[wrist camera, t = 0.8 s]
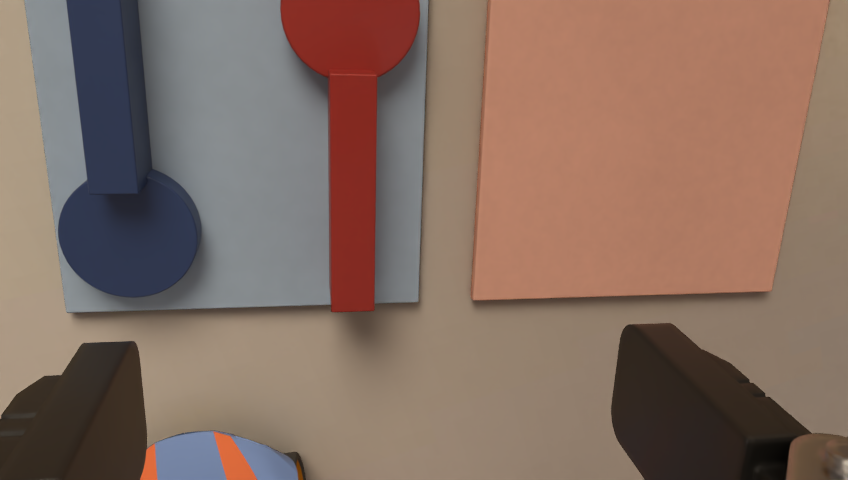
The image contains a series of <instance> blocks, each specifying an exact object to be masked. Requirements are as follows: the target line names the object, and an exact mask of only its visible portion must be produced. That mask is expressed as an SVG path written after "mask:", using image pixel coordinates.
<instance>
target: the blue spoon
mask: <svg viewBox="0 0 848 480" xmlns="http://www.w3.org/2000/svg"><path fill="white" fill-rule="evenodd" d="M66 3H67V12H68V20H69V29H70V37H71V46H72V55H73V63H74V72H75V80H76V89H77V97H78V106H79V114H80V123H81V131H82V140H83V148H84V157H85V165H86V174H87V180H86V181H85V182H84V183H82V184H81V185H80V186H79V187H78V188H77V189H76V190H75V191H73V193H72V194H71V195H70V196H69V197H68V199H67V201H66V202H65V204H64V206H63V208H62V211H61V213H60V217H59V223H58V238H59V243H60V247H61V250H62V252H63V255H64V257H65V259H66V261H67V262H68V264H69V265H70V267H71V268H72V269H73V270H74V272H75V273H76V274H77V275H78V276H79V277H80V278H82V279H83V280H84V281H85V282H87V283H88V284H89V285H91V286H92V287H94V288H96V289H98V290H100V291H103V292H105V293H108V294H111V295H115V296H120V297H132V298H136V297H146V296H150V295H154V294H157V293H160V292H162V291H164V290H167V289H169V288H170V287H172V286H173V285H175V284H176V283H177V282H178V281H179V280H181V279H182V277H183V276H184V275H185V274H186V273H187V271H188V270H189V268H190V267H191V265H192V263H193V261H194V259H195V256H196V254H197V251H198V249H199V245H200V241H201V220H200V216H199V213H198V210H197V208H196V205H195V203H194V202H193V200H192V198H191V197H190V195H189V194H188V193H187V192H186V190H185V189H184V188H183V187H182V186H181V185H180V184H179V183H177V182H176V181H175V180H173V179H172V178H170V177H169V176H167V175H165V174H164V173H161V172H159V171H157V170H154V169H152V158H151V147H150V136H149V124H148V113H147V101H146V90H145V78H144V67H143V56H142V44H141V33H140V21H139V10H138V0H66Z"/></svg>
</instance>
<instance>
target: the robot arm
mask: <svg viewBox="0 0 848 480" xmlns="http://www.w3.org/2000/svg"><path fill="white" fill-rule="evenodd" d="M611 415H612V424H613V428H614V432H615V435H616V438H617V440H618V442H619V443H620V445H621V446H622V448H623V449H624V450H625V452H626V453H627V455H628V456H629V458H630V459H631V460H632V462H633V463H634V465H635V466H636V467H637V469H638V470H639V472H640V473H641V475H642V476H643V477H644V479H645V480H848V437H843V436H839V435H833V434H823V433H813V434H812V433H811V432H810V431H808V430H807V429H806V428H805V427H804V426H803V425H801V424H800V423H799V422H798V421H797V420H796V419H794V418H793V417H792V416H791V415H790V414H789V413H787V412H786V411H785V410H784V409H783V408H782V407H780V406H779V405H778V404H777V403H776V402H775V401H774V400H772V399H771V398H770V397H765V393H764V392H763V391H762V390H761V389H760V388H758V387H757V386H756V385H755V384H754V383H750V382H749V379H748V378H747V377H746V376H744V375H743V374H742V373H741V372H740V371H739V370H738V369H736V368H735V367H734V366H733V365H732V364H731V363H729V362H727V361H725V360H723V359H721V358H719V357H717V356H715V355H713V354H711V353H709V352H707V351H705V350H703V349H702V350H701V349H700V348H699V347H698V346H697V345H696V344H695V343H694V342H692V341H691V340H690V339H689V338H688V337H687V336H686V335H685V334H683V333H682V332H681V331H680V330H679V329H678V328H677V327H676V326H674V325H673V324H671V323H660V324H632V325H627V326H626V327H625V328H624V329H623V331H622V334H621V338H620V344H619V351H618V359H617V367H616V374H615V382H614V390H613V397H612V406H611ZM146 449H147V429H146V418H145V408H144V398H143V387H142V377H141V367H140V357H139V351H138V347H137V345H136V343H135V342H134V341H127V342H99V343H83V344H82V345H81V346H80V347H79V349H78V351H77V352H76V354H75V355H74V357H73V358H72V360H71V361H70V363H69V364H68V366H67V367H66V369H65V371H64V372H63V374H62V375H56V376H44V377H42V378H41V379H39V380H38V381H36V382H35V383H33V384H32V385H30V386H29V387H27V388H26V389H24V390H23V391H21V392H20V393H18V394H17V395H16V396H15V397H14V399H13V400H12V401H11V403H10V404H9V406H8V407H7V408H6V410H5V411H4V412H3V414H2V415H1V419H0V480H140V478H141V475H142V472H143V469H144V465H145V459H146Z"/></svg>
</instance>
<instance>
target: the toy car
mask: <svg viewBox="0 0 848 480" xmlns="http://www.w3.org/2000/svg"><path fill="white" fill-rule="evenodd" d="M140 480H306V478H305V472H304V467H303V463H302V460H301V457H300V455H299V454H298V453H297V452H290V453H285V454H283V453H281V452H279V451H276V450H274V449H272V448H270V447H269V446H267V445H262V444H259V443H257V442H254V441H251V440H248V439H245V438H242V437H238V436H235V435H234V434H229V433H224V432H219V431H197V432H187V433H185V434H184V433H182V434H178V435H175V436H172V437H169V438H166V439H164V440H161V441H158V442H156V443H154V444H152V445H151V446H149V447H148V448H147V449H146V459H145V465H144V469H143V472H142V475H141V478H140Z"/></svg>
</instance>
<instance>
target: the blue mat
mask: <svg viewBox="0 0 848 480" xmlns="http://www.w3.org/2000/svg"><path fill="white" fill-rule="evenodd" d="M24 1H25V9H26V16H27V24H28V31H29V39H30V46H31V53H32V61H33V68H34V76H35V83H36V90H37V98H38V105H39V113H40V120H41V128H42V135H43V142H44V150H45V157H46V165H47V172H48V180H49V187H50V194H51V202H52V209H53V217H54V224H55V232H56V239H57V246H58V254H59V261H60V269H61V276H62V284H63V291H64V298H65V306H66V312H67V313H78V312H111V311H143V310H176V309H209V308H242V307H275V306H308V305H331V301H330V288H329V183H328V78H326V77H324V76H322V75H320V74H318V73H316V72H315V71H313V70H312V69H311V68H309V67H308V66H307V65H306V64H305V63H303V62H302V61H301V59H300V58H299V57H298V56H297V55H296V53H295V52H294V50H293V49H292V48H291V46H290V44H289V42H288V40H287V38H286V35H285V32H284V30H283V26H282V21H281V13H280V2H281V0H138V10H139V21H140V33H141V44H142V56H143V67H144V78H145V90H146V101H147V113H148V124H149V136H150V147H151V158H152V169H154V170H157V171H159V172H161V173H164V174H165V175H167V176H169V177H170V178H172V179H173V180H175V181H176V182H177V183H179V184H180V185H181V186H182V187H183V188H184V189H185V190H186V192H187V193H188V194H189V195H190V197H191V198H192V200H193V202H194V203H195V205H196V208H197V210H198V213H199V216H200V220H201V241H200V245H199V249H198V251H197V254H196V256H195V259H194V261H193V263H192V265H191V267H190V268H189V270H188V271H187V273H186V274H185V275H184V276H183V277H182V279H181V280H179V281H178V282H177V283H176V284H175V285H173V286H172V287H170V288H169V289H167V290H164V291H162V292H160V293H157V294H154V295H150V296H146V297H136V298H132V297H120V296H115V295H111V294H108V293H105V292H103V291H100V290H98V289H96V288H94V287H92V286H91V285H89V284H88V283H87V282H85V281H84V280H83V279H82V278H80V277H79V276H78V275H77V274H76V273H75V272H74V270H73V269H72V268H71V267H70V265H69V264H68V262H67V261H66V259H65V257H64V255H63V252H62V250H61V247H60V243H59V238H58V223H59V217H60V213H61V211H62V208H63V206H64V204H65V202H66V201H67V199H68V197H69V196H70V195H71V194H72V193H73V191H75V190H76V189H77V188H78V187H79V186H80V185H81V184H82V183H84V182H85V181H86V180H87V174H86V165H85V157H84V148H83V140H82V131H81V123H80V114H79V106H78V97H77V89H76V80H75V72H74V63H73V55H72V46H71V37H70V29H69V20H68V12H67V3H66V0H24ZM419 2H420V21H419V27H418V31H417V35H416V37H415V40H414V42H413V44H412V46H411V48H410V50H409V52H408V53H407V54H406V56H405V57H404V58H403V60H402V61H401V62H400V63H399V64H398V65H397V66H395V67H394V68H393V69H392V70H390V71H389V72H387V73H386V74H384V75H382V76H380V77H378V78H377V147H376V225H375V302H374V303H406V302H418V299H419V269H420V240H421V210H422V180H423V151H424V121H425V92H426V62H427V32H428V3H429V0H419Z"/></svg>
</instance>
